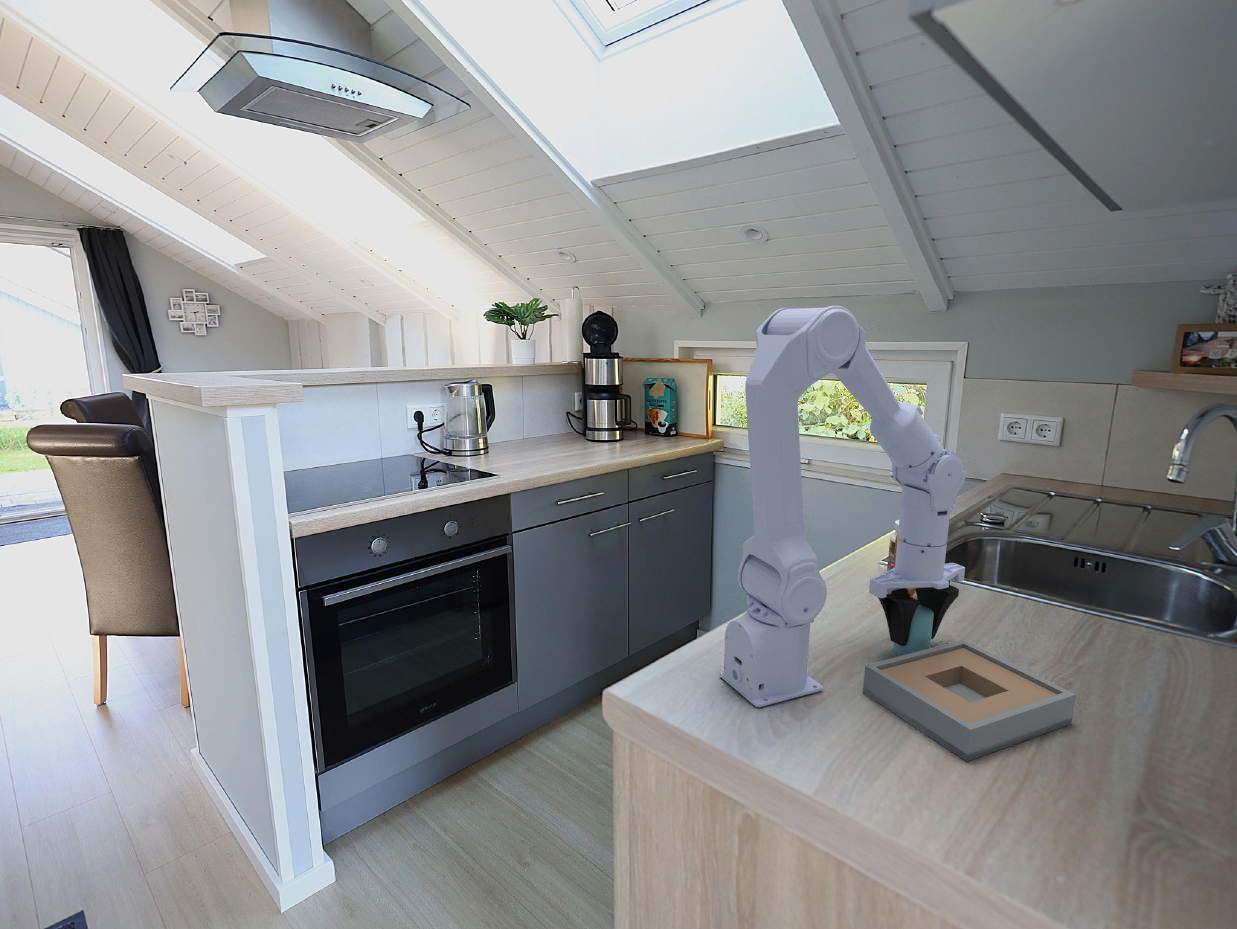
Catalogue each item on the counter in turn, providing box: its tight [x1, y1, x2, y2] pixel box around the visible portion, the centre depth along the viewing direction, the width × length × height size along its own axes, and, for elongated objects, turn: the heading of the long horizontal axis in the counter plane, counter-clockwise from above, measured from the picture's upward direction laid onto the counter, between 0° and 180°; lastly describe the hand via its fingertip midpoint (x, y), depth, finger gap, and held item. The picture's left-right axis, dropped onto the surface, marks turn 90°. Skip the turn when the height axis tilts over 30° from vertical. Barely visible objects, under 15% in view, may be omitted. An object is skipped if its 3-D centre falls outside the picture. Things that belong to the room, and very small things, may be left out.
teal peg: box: [892, 605, 934, 657], centre depth 88 cm, size 4×4×6 cm
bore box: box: [862, 639, 1077, 763], centre depth 75 cm, size 16×14×4 cm
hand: (912, 639), depth 88 cm, fingers closed on teal peg, 4 cm apart
